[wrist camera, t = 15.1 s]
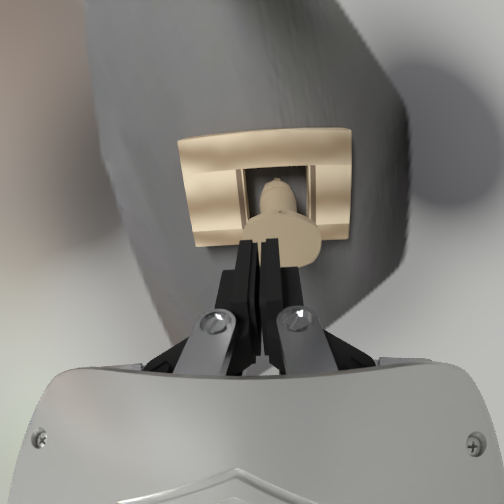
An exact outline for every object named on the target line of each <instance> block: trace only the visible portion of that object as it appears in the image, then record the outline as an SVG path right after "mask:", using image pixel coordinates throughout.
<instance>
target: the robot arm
mask: <svg viewBox="0 0 504 504" xmlns="http://www.w3.org/2000/svg"><path fill="white" fill-rule="evenodd" d="M261 333H263V343H264V352H265V356H266V355H269V362H270V363H271V364H272V365H273V366H275V367H276V368H277V369H279V375H270V376H246V368H247V367H249V366H250V365H251V364H253V363H256V356H261ZM8 504H504V467H503V462H502V457H501V453H500V449H499V445H498V441H497V437H496V433H495V430H494V426H493V423H492V420H491V417H490V415H489V412H488V409H487V407H486V404H485V402H484V399H483V397H482V395H481V393H480V391H479V389H478V387H477V386H476V384H475V382H474V381H473V379H472V378H471V377H470V375H469V374H468V373H467V372H466V371H465V370H463V369H461V368H460V367H457V366H455V365H452V364H448V363H442V362H435V361H432V360H430V359H423V358H387V357H380V358H379V360H373V359H372V358H371V357H370V356H368V355H367V354H365V353H364V352H362V351H360V350H358V349H357V348H355V347H353V346H351V345H350V344H348V343H346V342H344V341H342V340H341V339H339V338H337V337H336V336H334V335H332V334H331V333H329V332H327V331H325V330H324V329H322V326H321V324H320V321H319V318H318V316H317V314H316V313H315V312H314V311H313V310H312V309H310V308H308V307H305V306H304V305H303V297H302V290H301V284H300V277H299V270H298V266H294V267H280V254H279V240H278V238H268V239H266V242H261V263H259V252H258V243H257V242H256V243H253V240H252V239H251V240H240V241H239V247H238V254H237V260H236V266H235V270H223V272H222V276H221V281H220V285H219V290H218V295H217V299H216V304H215V309H212V310H209V311H207V312H205V313H203V314H202V315H201V316H199V318H198V319H197V321H196V323H195V325H194V327H193V330H192V332H191V334H190V336H189V337H188V338H186V339H185V340H183V341H181V342H180V343H178V344H177V345H175V346H173V347H172V348H170V349H169V350H167V351H166V352H164V353H162V354H161V355H159V356H157V357H156V358H154V359H152V360H151V361H150V362H149V363H147V365H145V366H143V365H142V363H138V364H129V365H117V366H105V367H81V368H76V369H71V370H67V371H64V372H62V373H60V374H58V375H57V376H55V377H54V378H53V379H52V381H51V382H50V383H49V385H48V386H47V388H46V389H45V391H44V393H43V394H42V396H41V398H40V400H39V402H38V404H37V406H36V408H35V411H34V413H33V415H32V418H31V420H30V423H29V425H28V428H27V431H26V433H25V436H24V439H23V442H22V445H21V449H20V451H19V455H18V458H17V461H16V465H15V469H14V473H13V478H12V482H11V487H10V493H9V498H8Z"/></svg>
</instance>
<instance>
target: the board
mask: <svg viewBox="0 0 504 504" xmlns="http://www.w3.org/2000/svg"><path fill="white" fill-rule="evenodd" d="M178 148H179V154H180V161H181V167H182V173H183V179H184V185H185V191H186V197H187V202H188V208H189V213H190V219H191V224H192V229H193V234H194V239H195V244H196V247H202V246H220V245H238V244H239V241H240V240H242V235H243V231H244V227H245V225H246V223H247V222H248V220H249V219H250V214H249V204H248V194H247V184H246V174H245V169H248V168H262V167H279V166H303V165H305V170H306V216H305V217H307V218H309V219H311V220H313V221H314V222H315V223H316V225H317V227H318V229H319V232H320V234H321V240H336V239H348V235H349V220H350V202H351V168H352V136H351V130H350V129H347V128H281V129H264V130H250V131H239V132H229V133H220V134H211V135H204V136H196V137H190V138H184V139H182V140H180V141H178Z"/></svg>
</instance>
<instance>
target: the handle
mask: <svg viewBox="0 0 504 504" xmlns="http://www.w3.org/2000/svg"><path fill="white" fill-rule="evenodd" d="M260 211H261V214H259V215H257V216H254V217H252V218H250V219H249V220H248V222H247V223H246V225H245V227H244V231H243V235H242V240H251V239H252V240H253V243H256V242H257V243H258V252H259V263H261V242H266V239H268V238H278V240H279V254H280V267H294V266H298V268H299V267H302V266H304V265H307V264H310V263H312V262H313V261H314V260H315V259H316V258H317V256H318V254H319V252H320V248H321V234H320V232H319V229H318V227H317V225H316V223H315V222H314V221H313V220H311V219H309V218H307V217H305V216H303V215H301V214H299V213H297V206H296V199H295V196H294V193H293V191H292V190H291V188H290V186H289V185H288V184H287V183H285V182H283V181H281V179H280V178H274V180H272V181H271V182H267V183H266V184H265V185H264V189H263V191H262V194H261V197H260Z"/></svg>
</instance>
